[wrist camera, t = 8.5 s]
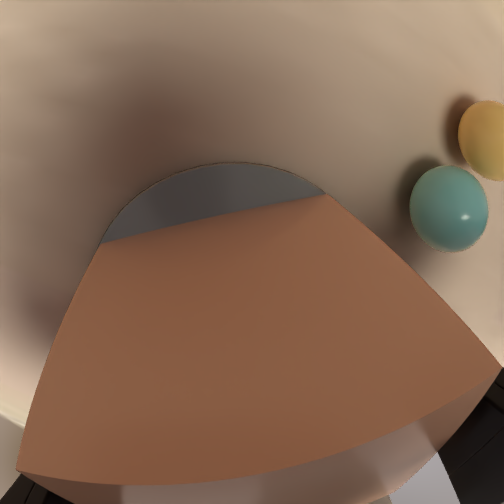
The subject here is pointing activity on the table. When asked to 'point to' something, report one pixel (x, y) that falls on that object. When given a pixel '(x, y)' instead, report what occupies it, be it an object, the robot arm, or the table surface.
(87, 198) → the table surface
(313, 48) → the table surface
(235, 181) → the coaster
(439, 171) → the marble teal
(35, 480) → the peach beveled cube
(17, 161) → the table surface
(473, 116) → the marble amber
